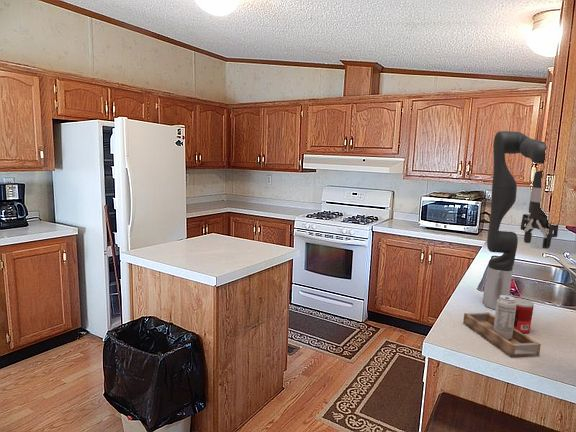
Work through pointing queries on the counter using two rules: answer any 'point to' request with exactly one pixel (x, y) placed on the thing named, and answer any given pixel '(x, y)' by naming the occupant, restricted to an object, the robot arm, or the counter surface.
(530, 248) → the counter surface
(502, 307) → the energy drink can
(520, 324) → the canned food
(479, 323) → the wooden tray
